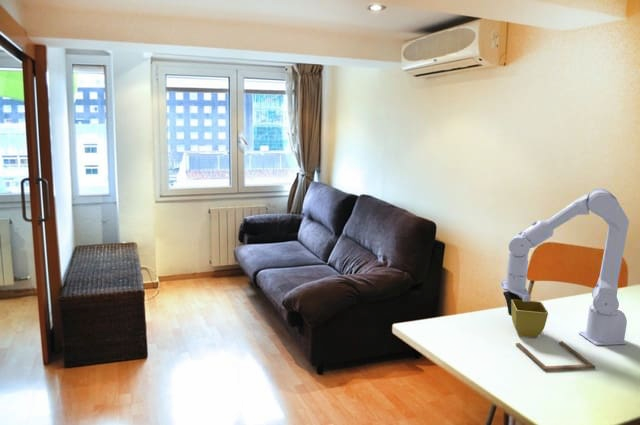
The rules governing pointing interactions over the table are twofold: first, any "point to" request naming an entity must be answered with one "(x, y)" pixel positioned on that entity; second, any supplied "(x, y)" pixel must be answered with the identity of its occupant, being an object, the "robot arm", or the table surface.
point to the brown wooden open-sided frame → (564, 367)
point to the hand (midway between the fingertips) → (512, 315)
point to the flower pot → (528, 317)
